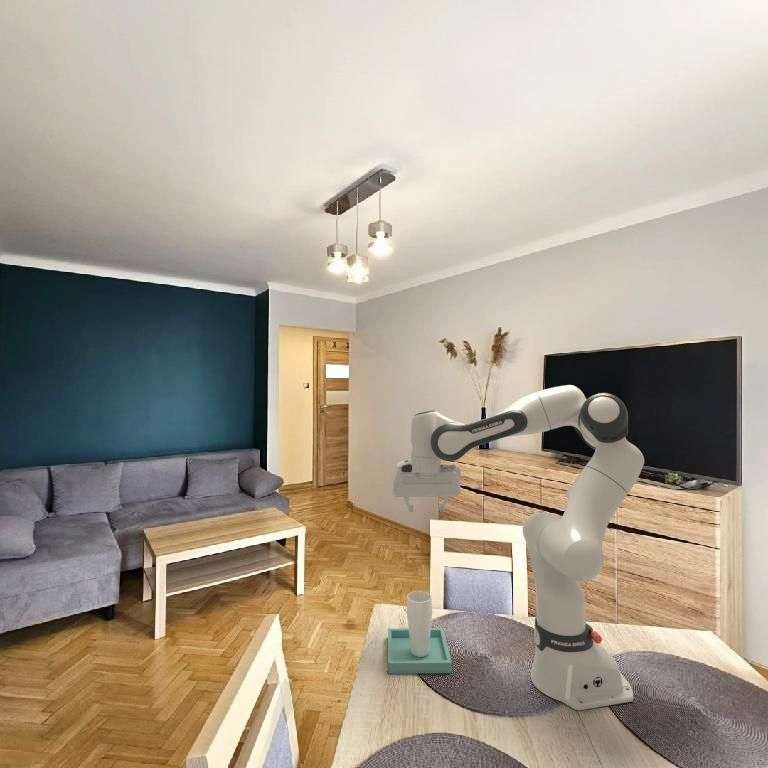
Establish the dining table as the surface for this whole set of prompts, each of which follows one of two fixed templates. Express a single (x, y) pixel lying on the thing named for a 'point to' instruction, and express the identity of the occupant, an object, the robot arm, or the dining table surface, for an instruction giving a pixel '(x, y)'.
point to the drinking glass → (419, 622)
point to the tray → (408, 663)
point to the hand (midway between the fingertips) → (426, 511)
